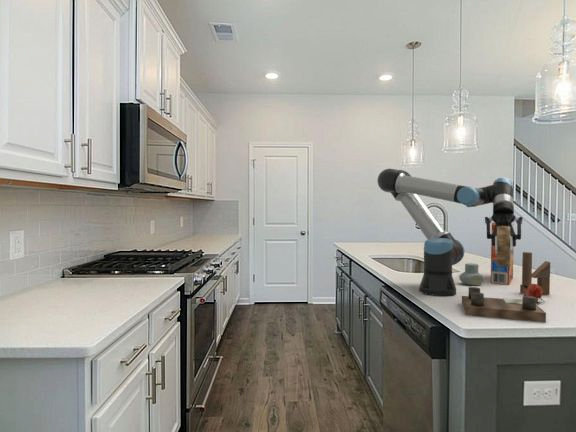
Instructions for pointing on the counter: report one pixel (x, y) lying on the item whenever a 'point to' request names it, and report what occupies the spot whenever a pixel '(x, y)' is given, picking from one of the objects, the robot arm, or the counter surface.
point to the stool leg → (503, 246)
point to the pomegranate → (533, 291)
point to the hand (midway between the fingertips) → (503, 251)
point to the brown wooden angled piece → (535, 274)
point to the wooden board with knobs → (502, 307)
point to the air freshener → (471, 275)
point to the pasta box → (500, 267)
